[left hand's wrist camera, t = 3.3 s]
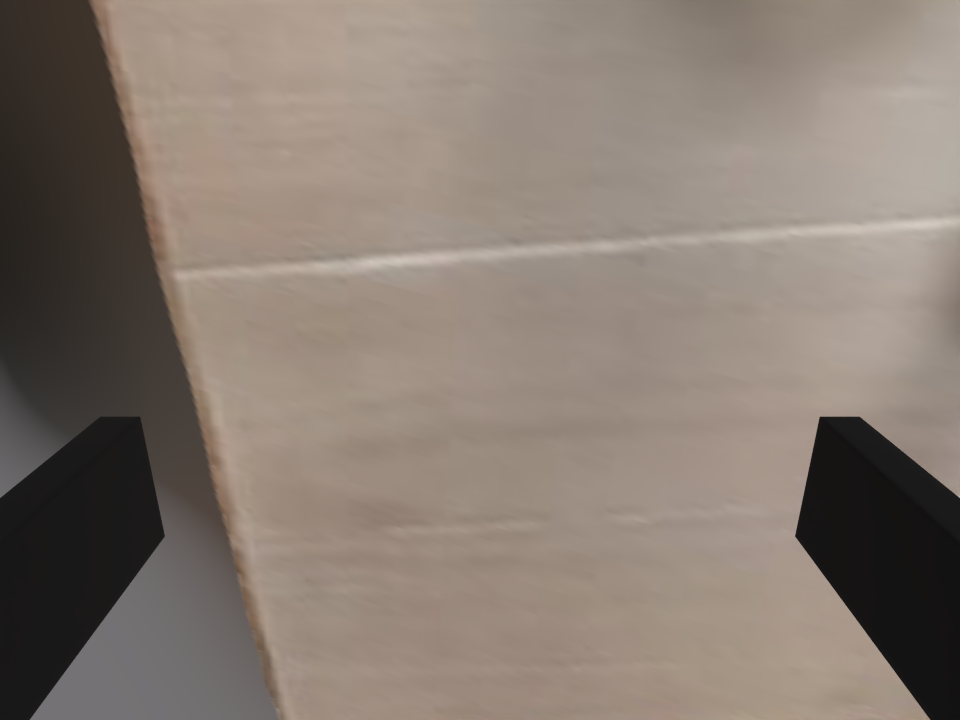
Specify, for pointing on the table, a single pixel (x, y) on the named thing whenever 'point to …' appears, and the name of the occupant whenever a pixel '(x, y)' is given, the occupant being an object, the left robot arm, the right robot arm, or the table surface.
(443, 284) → the table surface
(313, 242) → the table surface
